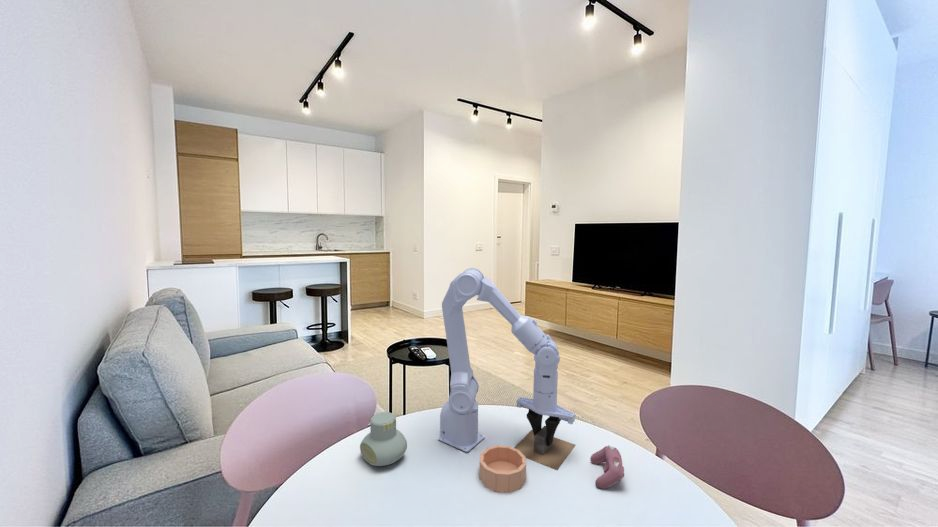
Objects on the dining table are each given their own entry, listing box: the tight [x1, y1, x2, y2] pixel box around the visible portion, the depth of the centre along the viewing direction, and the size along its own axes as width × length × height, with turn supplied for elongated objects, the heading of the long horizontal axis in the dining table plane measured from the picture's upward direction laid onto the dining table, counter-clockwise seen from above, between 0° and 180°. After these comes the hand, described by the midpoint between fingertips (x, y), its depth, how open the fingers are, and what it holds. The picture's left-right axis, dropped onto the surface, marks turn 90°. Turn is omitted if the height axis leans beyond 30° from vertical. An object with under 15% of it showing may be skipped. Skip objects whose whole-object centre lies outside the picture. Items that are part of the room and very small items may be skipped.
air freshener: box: [359, 411, 408, 467], centre depth 86 cm, size 11×8×10 cm
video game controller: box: [589, 444, 625, 489], centre depth 81 cm, size 10×5×7 cm, turn 169°
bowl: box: [478, 444, 527, 494], centre depth 81 cm, size 10×10×4 cm
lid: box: [513, 425, 576, 471], centre depth 91 cm, size 12×12×5 cm
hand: (543, 441), depth 91 cm, fingers closed on lid, 2 cm apart
